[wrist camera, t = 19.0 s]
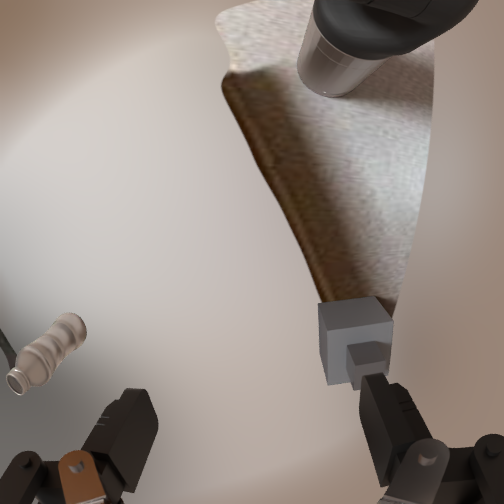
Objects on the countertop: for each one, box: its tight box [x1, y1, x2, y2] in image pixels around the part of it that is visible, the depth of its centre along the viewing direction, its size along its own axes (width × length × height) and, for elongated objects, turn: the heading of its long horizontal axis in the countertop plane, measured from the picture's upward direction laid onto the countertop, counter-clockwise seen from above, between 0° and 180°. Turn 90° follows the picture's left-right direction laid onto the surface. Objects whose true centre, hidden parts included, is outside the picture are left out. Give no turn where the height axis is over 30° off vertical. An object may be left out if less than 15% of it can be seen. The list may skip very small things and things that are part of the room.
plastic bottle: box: [6, 313, 87, 395], centre depth 42 cm, size 6×7×20 cm
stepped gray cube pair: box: [318, 296, 393, 390], centre depth 42 cm, size 9×9×14 cm
